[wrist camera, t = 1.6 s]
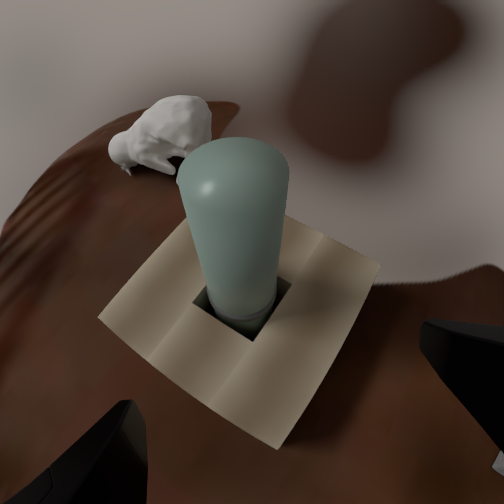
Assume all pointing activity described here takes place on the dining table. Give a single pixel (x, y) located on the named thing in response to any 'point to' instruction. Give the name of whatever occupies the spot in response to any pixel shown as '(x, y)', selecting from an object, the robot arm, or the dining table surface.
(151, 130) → the white rounded figure
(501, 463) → the supplement box
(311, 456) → the dining table surface
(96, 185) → the dining table surface
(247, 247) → the plug
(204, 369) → the square hole wooden block
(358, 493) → the dining table surface
